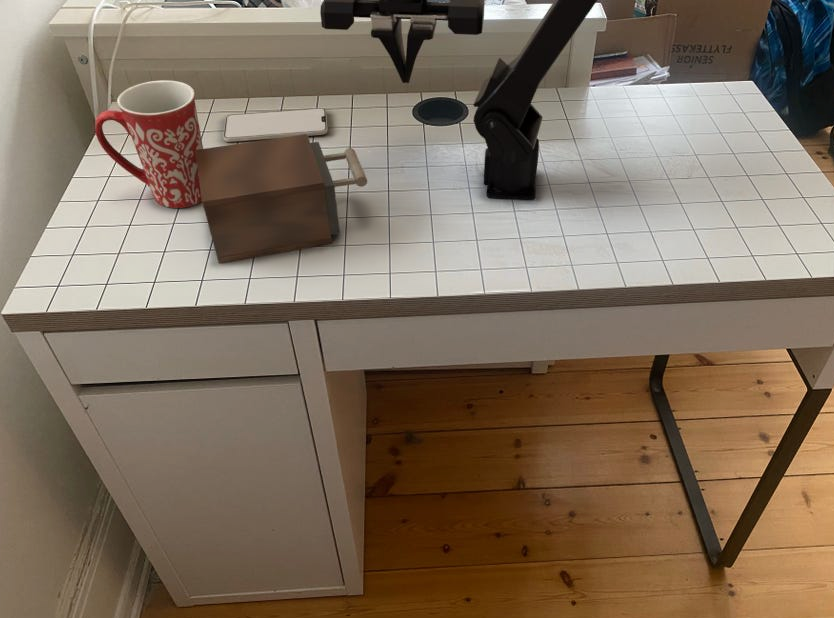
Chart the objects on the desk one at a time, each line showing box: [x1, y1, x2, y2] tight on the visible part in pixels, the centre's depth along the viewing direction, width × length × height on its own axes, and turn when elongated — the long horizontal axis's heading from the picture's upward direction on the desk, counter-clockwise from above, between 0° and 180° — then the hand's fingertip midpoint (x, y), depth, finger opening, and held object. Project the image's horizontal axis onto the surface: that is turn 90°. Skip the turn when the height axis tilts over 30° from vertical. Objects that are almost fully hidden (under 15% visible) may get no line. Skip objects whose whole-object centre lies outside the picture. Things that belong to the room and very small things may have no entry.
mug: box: [94, 79, 204, 209], centre depth 94 cm, size 13×9×14 cm
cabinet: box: [195, 134, 333, 264], centre depth 91 cm, size 14×12×9 cm
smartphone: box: [222, 107, 329, 143], centre depth 112 cm, size 7×1×15 cm
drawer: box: [310, 141, 368, 235], centre depth 92 cm, size 17×10×7 cm, turn 107°
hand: (406, 81), depth 94 cm, fingers closed
